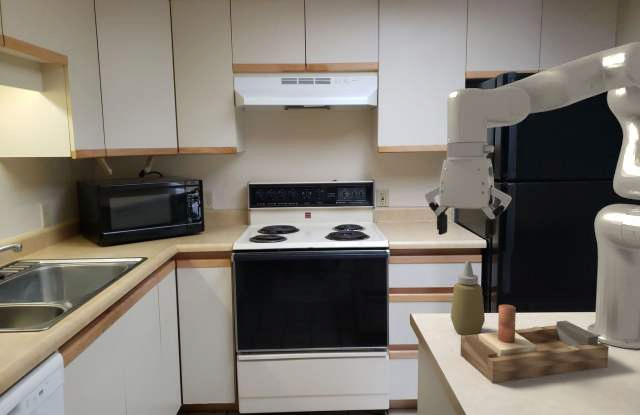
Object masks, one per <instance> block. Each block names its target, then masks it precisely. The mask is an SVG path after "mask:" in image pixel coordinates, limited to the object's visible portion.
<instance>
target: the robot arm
mask: <svg viewBox="0 0 640 415" xmlns="http://www.w3.org/2000/svg"><path fill="white" fill-rule="evenodd" d="M606 92H607V96H606V100H607V101H606V102H607V105H608V107H609V109H610V111H611V112H612V114H614V116H615V117H616V119H617V121H618V122H619V124H620V127H621V129H622V136H623V137H622V138H623V139H622V145H621V148H620V152H619V156H618V160H617V163H616V168H615V173H614V176H613V184H612V185H613V186H612V187H613V190H614V192H615V193H616V194H617V195H618V196H620V197H621V198H626V199H632V200H639V201H640V41H634V42H629V43H626V44H623V45H619V46H615V47H612V48H609V49H605V50H601V51H598V52H595V53H592V54H588V55H586V56H583V57H580V58H578V59H574V60H572V61H568V62H566V63H563V64H560V65H556V66H553V67H550V68H547V69H545V70H542V71H539V72H537V73H535V74H532V75H530V76H527V77H525V78H522V79H520V80H516V81H513V82H511V83H507V84H505V85H501V86H498V87H496V88H491V89H490V88H489V89H488V88H487V89H482V88H478V87H477V88H476V87H475V88H474V87H472V88H471V87H469V88H468V87H467V88H461V89H459V88H458V89H455V90H453V91H451V92H450V93H449V94H448V96H447V104H446V105H447V109H446V115H447V116H446V122H447V123H446V159H443V163H442V168H441V173H440V180H439V187H437V188H435V189H433V190H431V191H430V192H427V193H425V195H424V197H425V200H426V202H427V204H428V206H429V208H430V209H431V211H433V213H434V215H435V216H436V230H438V231H437V233H438V235H440V236H441V235H442V236H443V235H445V234H447V233H448V215H447V214H446V213H447V211H448V210H449V209H450V208H453V209H467V210H468V209H471V210H481V211H483V212H484V214H485V215H486V216H487V218H486V219H485V220H484V221H485V226H484V228H485V229H484V231H485V232H484V233H485V234H484V238H485V239H486V240H491V239H492V238H494V236H495V235H496V234H497V218H499V216H500V215H501V214H502V213H505V211H506V210H507V207H508V206H509V204H510V203H511V201H512V197H511V196H510V195H509V194H507V193H505V192H503V191H501V190H499V189H498V188H495V181H494V180H495V179H494V177H495V176H494V172H493V171H494V169H493V164H492V160H491V158H487V156H488V155H489V154H490V153H494V150H495V146H494V145H490V144H488V143H489V142H487V138H488V133H487V132H488V131H487V130H488V129H489V128H497V127H498V128H499V127H501V128H502V127H507V126H513V125H516V124H519V123H521V122H522V121H523V120H525V119H526V118H527V117H528V116H529V114H535V113H540V112H541V113H542V112H548V111H552V110H557V109H561V108H563V107H567V106H570V105H572V104H574V103H575V104H576V103H577V102H580V101H582V100H585V99H588V98H591V97H595V96H597V95H600V94H602V93H606ZM437 196H439V203H440V204H438V202H436V199H435V198H436V197H437ZM495 198H497V199H499V201H500V203H499V205H498V206H497V207H494V205H495ZM594 232H595V238H596V242H597V244H596V245H597V277H596V278H597V279H596V300H595V302H596V303H595V317H594V318H595V321H594V322H595V323H592V324H589V325H588V326H587V328H586V330H587V331H589V332H591V333H593V334H595V335H597V336H598V342H600V343H603V344H605V345H609V346H612V347H613V346H614V347H616V348H617V347H618V348H624V349H635V350H637V349H638V350H639V349H640V205H637V204H629V203H627V204H626V203H614V204H609V205H607V206H604V207H603V208H602V209H601V210H599V211H598V212H597V214H596V216H595V219H594Z"/></svg>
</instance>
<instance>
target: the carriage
mask: <svg viewBox="0 0 640 415" xmlns="http://www.w3.org/2000/svg"><path fill="white" fill-rule="evenodd" d="M516 309H517V307H516V306H514V305H511V304H499V305H498V323H497V324H498V326H497V327H498V328H497V329H498V331H494V332H484V333H480V334H478V340H480V341H481V342H483V343H484V344H485V345H487V346H488V347H489V348H491V349H492V350H493V351H495V352H496V353H497V356H505V355H512V354H520V353H528V352H536V350H537V346H536V345H535V344H533V343H532V342H530V341H528V340H527V339H525V338H523V337H522V336H520V335H519V334H517V333H515V330H516V313H517V312H516Z"/></svg>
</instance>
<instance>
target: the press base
mask: <svg viewBox="0 0 640 415" xmlns="http://www.w3.org/2000/svg"><path fill="white" fill-rule="evenodd" d="M515 333H517V334H519V335H520V336H522V337H523V338H525V339H527V340H528V341H530V342H532V343H533V344H535V345H536V346H537V350H536V352H528V353H520V354H512V355H505V356H497V353H496V352H495V351H493V350H492V349H491V348H489V347H488V346H487V345H485V344H484V343H483V342H481V341H480V340H478V334H475V335H467V336H466V335H461V336H460V356H461V358H463V359H465V360H466V361H467V362H468V363H469V364H470V365H471V366H472V367H474V368H475V369H476V370H477V371H478V372H479V373H480V374H482V376H484V377H485V378H486V380H488V381H490V382H491V383H492V384H494V383H495V384H496V383H504V382H511V381H517V380H518V381H519V380H524V379H530V378H537V377H545V376H552V375H560V374H566V373H572V372H574V373H575V372H581V371H586V370H588V371H589V370H595V369H596V370H597V369H602V368H608V364H609V349H610V348H609V346H610V345H609V346H608V344H606V343H603V342H600V343H599V341H598V336H597V335H595V334H593V333H591V332H589V331H587V329H584V328H582V327H581V326H579V325H576V324H574V323H572V322H570V321H568V320H560V321H556V324H554V325H553V324H552V325H546V326H532V327H528V328H521V329H515Z"/></svg>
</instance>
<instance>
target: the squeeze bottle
mask: <svg viewBox="0 0 640 415" xmlns="http://www.w3.org/2000/svg"><path fill="white" fill-rule="evenodd" d="M457 281H458V282H456V283H455V284H454V287H453V295H452V302H451V311H450V320H451V323H452V325H453V328H454V331H455V332H456V333H457V334H459V335H461V336H467V335H475V334H481V331H482V328H483V325H484V323H485V321H486V320H485V319H486V318H485V309H484V308H485V307H484V296H483V287H482V285H480V284H479V276H478V275H476V274H474V270H473V266H472V262H471V261H470V260H466V261H465V264H464V267H463V271H462V273H460V274H458V275H457Z"/></svg>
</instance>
